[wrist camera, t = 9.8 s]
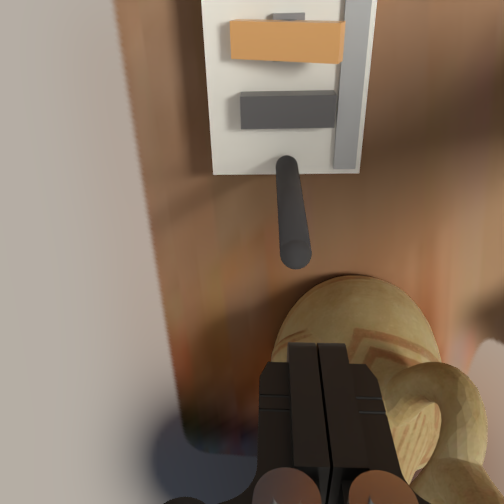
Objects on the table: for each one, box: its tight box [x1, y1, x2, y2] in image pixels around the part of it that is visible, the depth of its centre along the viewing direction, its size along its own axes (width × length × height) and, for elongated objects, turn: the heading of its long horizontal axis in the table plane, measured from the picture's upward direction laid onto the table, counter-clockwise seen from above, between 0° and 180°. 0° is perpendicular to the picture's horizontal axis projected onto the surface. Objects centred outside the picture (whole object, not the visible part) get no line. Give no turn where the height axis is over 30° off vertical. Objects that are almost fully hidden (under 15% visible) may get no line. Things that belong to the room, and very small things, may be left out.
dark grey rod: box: [276, 155, 312, 269], centre depth 29 cm, size 2×2×14 cm
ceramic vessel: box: [271, 275, 504, 504], centre depth 36 cm, size 17×20×25 cm
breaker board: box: [201, 0, 377, 175], centre depth 31 cm, size 19×11×4 cm, turn 1°
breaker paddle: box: [230, 19, 346, 64], centre depth 29 cm, size 2×7×2 cm, turn 91°
